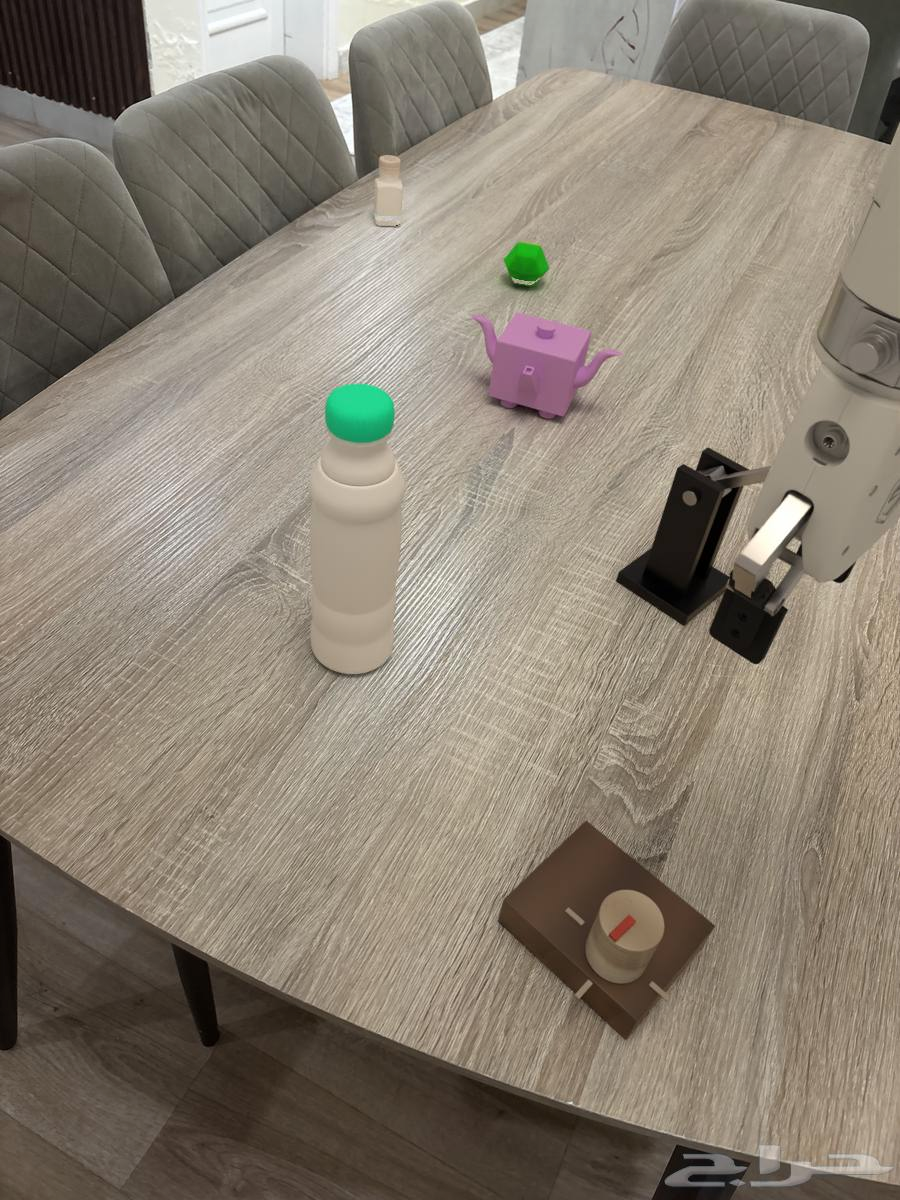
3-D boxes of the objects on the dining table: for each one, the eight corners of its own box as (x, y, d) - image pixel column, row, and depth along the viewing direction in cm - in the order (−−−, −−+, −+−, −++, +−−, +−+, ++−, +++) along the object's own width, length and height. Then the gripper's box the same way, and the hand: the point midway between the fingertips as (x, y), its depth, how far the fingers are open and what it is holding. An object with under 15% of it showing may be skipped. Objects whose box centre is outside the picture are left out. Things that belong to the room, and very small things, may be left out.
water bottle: (378, 611, 84) (392, 364, 67) (404, 668, 80) (426, 418, 63) (301, 627, 82) (296, 375, 65) (323, 686, 78) (324, 432, 60)
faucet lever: (894, 464, 72) (882, 425, 71) (876, 480, 70) (863, 440, 69) (710, 497, 85) (698, 464, 84) (691, 511, 83) (679, 477, 83)
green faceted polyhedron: (529, 242, 128) (537, 217, 134) (491, 265, 131) (501, 239, 138) (556, 285, 131) (563, 258, 138) (519, 307, 135) (527, 280, 141)
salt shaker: (401, 228, 145) (404, 164, 139) (375, 227, 145) (377, 163, 138) (398, 217, 148) (401, 154, 142) (373, 216, 147) (375, 153, 141)
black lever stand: (729, 587, 92) (776, 473, 82) (684, 625, 87) (728, 509, 78) (662, 546, 95) (700, 431, 86) (615, 580, 91) (650, 464, 81)
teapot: (442, 408, 110) (451, 332, 103) (478, 358, 119) (488, 284, 112) (591, 450, 106) (609, 374, 100) (616, 395, 116) (634, 322, 109)
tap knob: (611, 912, 62) (628, 874, 59) (659, 956, 60) (679, 920, 57) (572, 950, 60) (586, 913, 57) (620, 997, 58) (638, 962, 55)
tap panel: (710, 952, 64) (724, 930, 62) (618, 1066, 58) (630, 1046, 56) (578, 842, 69) (586, 818, 67) (481, 936, 63) (487, 913, 61)
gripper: (907, 440, 35) (759, 725, 47) (1057, 311, 45) (904, 575, 57) (736, 357, 39) (638, 642, 50) (910, 254, 48) (794, 514, 60)
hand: (779, 606), depth 54 cm, fingers open, 9 cm apart
